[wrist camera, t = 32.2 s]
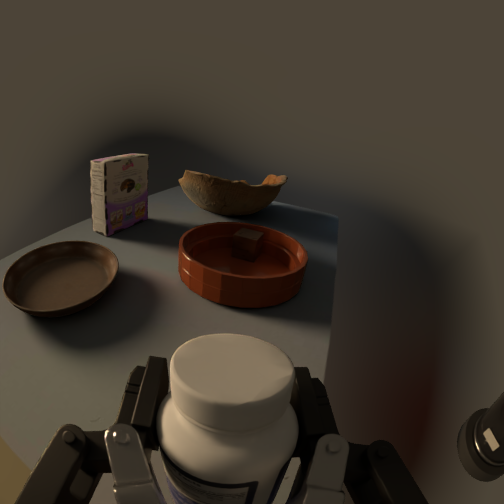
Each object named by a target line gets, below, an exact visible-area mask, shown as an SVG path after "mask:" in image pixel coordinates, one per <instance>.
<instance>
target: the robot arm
mask: <svg viewBox="0 0 504 504" xmlns="http://www.w3.org/2000/svg"><path fill="white" fill-rule="evenodd" d="M294 370H295V378H294V383H293V388H292V392H291V399H290V402H289V403H290V404H291V406H292V407H293V409H294V411H295V413H296V416H297V419H298V424H299V435H298V440H297V444H296V448H295V450H294V453H293V456H292V458H293V457H300V461H301V464H300V465H299V468H298V471H297V474H296V477H295V480H294V483H293V486H292V489H291V492H290V494H289V497H288V500H287V502H286V503H285V504H344V500H345V493H344V492H343V491H342V485H343V482H344V484H345V486H346V488H347V490H348V492H349V494H350V496H351V498H352V500H353V502H354V503H355V504H428V502H427V500H426V499H425V497H424V495H423V494H422V492H421V490H420V489H419V487H418V485H417V484H416V482H415V481H414V479H413V477H412V476H411V474H410V472H409V471H408V469H407V468H406V466H405V464H404V463H403V461H402V459H401V458H400V456H399V455H398V453H397V451H396V450H395V448H394V447H393V445H392V444H391V443H389V442H387V441H384V440H378V441H374V442H373V443H372V444H370V445H361V444H354V443H350V442H348V441H346V439H344V438H343V437H342V436H340V434H339V432H338V430H337V427H336V423H335V420H334V416H333V413H332V409H331V406H330V403H329V399H328V397H327V393H326V389H325V386H324V385H323V384H322V382H321V381H320V380H319V379H318V378H311V376H310V373H309V369H308V368H307V367H294ZM168 389H169V376H168V367H167V359H166V358H161V357H154V356H149V358H148V362H147V365H146V367H143V366H137V367H136V368H135V369H134V370H133V371H132V372H131V373H130V376H129V379H128V382H127V385H126V388H125V392H124V395H123V398H122V401H121V405H120V408H119V411H118V415H117V418H116V421H115V423H114V424H113V425H112V426H111V427H109V428H108V429H106V430H103V431H83V430H82V429H81V428H79V427H78V426H76V425H73V424H66V425H63V426H61V427H60V428H59V429H58V430H57V431H56V433H55V434H54V436H53V438H52V439H51V441H50V442H49V444H48V446H47V447H46V449H45V451H44V452H43V454H42V456H41V457H40V459H39V461H38V462H37V464H36V466H35V468H34V469H33V471H32V473H31V474H30V476H29V478H28V480H27V482H26V483H25V485H24V487H23V489H22V491H21V493H20V494H19V497H18V498H17V500H16V502H15V504H89V502H90V500H91V498H92V496H93V494H94V491H95V489H96V487H97V485H98V483H99V481H100V479H101V477H102V475H103V473H112V475H113V479H114V486H113V490H114V495H115V498H116V501H117V504H166V501H165V499H164V497H163V495H162V492H161V490H160V487H159V484H158V482H157V479H156V476H155V473H154V470H153V467H152V464H151V461H150V458H151V452H152V450H156V451H158V449H159V442H158V436H157V429H156V416H157V412H158V409H159V406H160V404H161V402H162V401H163V399H164V398H165V396H166V395H167V394H168ZM472 440H473V445H474V448H475V451H476V453H477V455H478V456H479V458H480V459H481V460H482V461H483V462H484V463H486V464H487V465H489V466H492V467H501V466H503V465H504V392H503V393H502V394H501V396H500V397H499V398H498V399H497V400H496V402H494V404H493V405H492V406H491V407H490V408H489V409H488V410H487V411H486V412H485V413H484V414H483V415H482V416H481V417H480V418H479V419H478V420H477V421H476V422H475V424H474V427H473V432H472Z"/></svg>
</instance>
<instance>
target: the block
mask: <svg viewBox="0 0 504 504" xmlns="http://www.w3.org/2000/svg"><path fill="white" fill-rule="evenodd" d="M263 236H264V233H263V232H259V231H255V230H251V229H246V228H241V229H240V230H239V231H237V232H236V233H235V234H234V235H233V244H232V253H231V257H234V258H238V259H241V260H245V261H249V262H252V263H254V262H255V260H256V259H257V258H258V257H259V255H260V254H261V249H262V243H263Z"/></svg>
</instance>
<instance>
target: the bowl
mask: <svg viewBox="0 0 504 504" xmlns="http://www.w3.org/2000/svg"><path fill="white" fill-rule="evenodd" d="M241 228H246V229H251V230H255V231H259V232H263V233H264V236H263V243H262V249H261V254H260V255H259V257H258V258H257V259H256V260H255V262H254V263H252V262H249V261H245V260H241V259H238V258H234V257H231V253H232V244H233V235H234V234H235V233H236V232H237V231H239V230H240V229H241ZM307 262H308V255H307V251H306V250H305V248H304V247H303V245H302V244H300V243H299V242H298V241H297V240H295V239H294V238H292V237H290V236H288V235H287V234H285V233H282V232H280V231H277V230H274V229H272V228H268V227H264V226H260V225H255V224H249V223H239V222H216V223H209V224H204V225H200V226H197V227H194V228H192V229H190V230H188V231H186V232H185V233H184V234H183V235H182V236H181V238H180V242H179V266H178V271H179V274H180V277H181V280H182V281H183V282H184V283H185V285H186V286H187V287H188V288H189V289H190V290H192V291H193V292H195V293H197V294H198V295H200V296H201V297H203V298H206V299H208V300H211V301H214V302H216V303H219V304H223V305H229V306H234V307H242V308H261V307H268V306H274V305H278V304H280V303H283V302H285V301H287V300H289V299H291V298H292V297H293V296H294V295H296V294H297V293H298V292H299V290H300V287H301V285H302V282H303V278H304V274H305V270H306V266H307Z"/></svg>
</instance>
